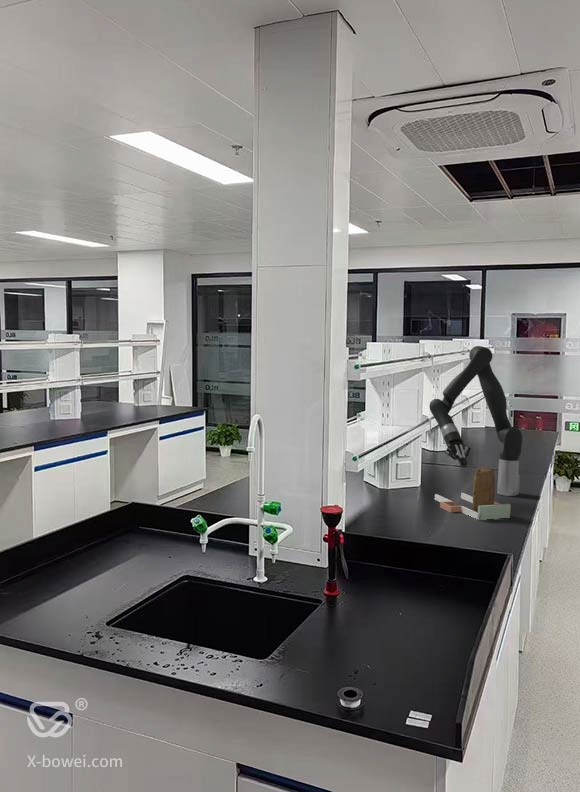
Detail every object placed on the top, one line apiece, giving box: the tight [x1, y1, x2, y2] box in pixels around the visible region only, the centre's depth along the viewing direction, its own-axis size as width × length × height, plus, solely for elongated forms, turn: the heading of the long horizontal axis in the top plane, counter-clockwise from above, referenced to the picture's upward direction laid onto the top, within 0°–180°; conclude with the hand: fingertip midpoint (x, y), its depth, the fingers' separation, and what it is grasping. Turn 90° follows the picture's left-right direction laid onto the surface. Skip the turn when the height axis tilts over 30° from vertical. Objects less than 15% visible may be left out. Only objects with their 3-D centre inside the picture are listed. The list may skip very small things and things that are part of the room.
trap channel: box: [434, 492, 512, 521], centre depth 297 cm, size 25×36×6 cm
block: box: [472, 466, 496, 513], centre depth 289 cm, size 11×8×20 cm
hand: (464, 466), depth 302 cm, fingers closed
